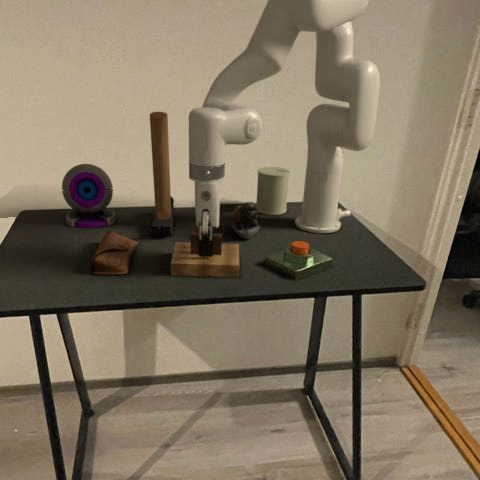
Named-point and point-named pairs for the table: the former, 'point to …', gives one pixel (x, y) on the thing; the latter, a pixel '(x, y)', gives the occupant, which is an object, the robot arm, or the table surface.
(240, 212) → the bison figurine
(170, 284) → the table surface
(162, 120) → the hammer
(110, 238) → the sunglasses case
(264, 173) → the can
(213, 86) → the robot arm
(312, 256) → the button box
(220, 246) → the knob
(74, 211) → the webcam
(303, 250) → the button
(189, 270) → the light wood flat block
